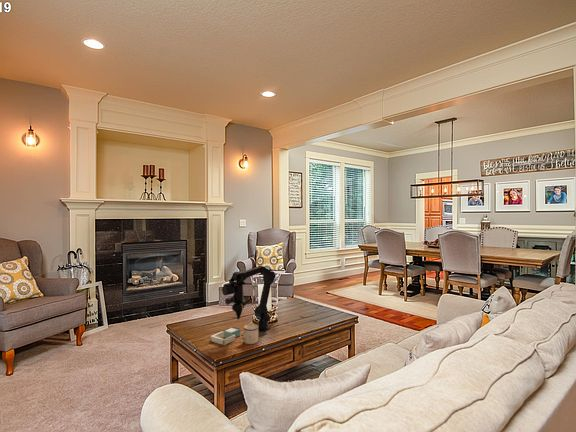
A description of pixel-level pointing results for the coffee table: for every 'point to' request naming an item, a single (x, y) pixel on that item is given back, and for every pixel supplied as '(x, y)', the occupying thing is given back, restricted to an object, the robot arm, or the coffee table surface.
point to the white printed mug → (250, 333)
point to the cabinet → (232, 332)
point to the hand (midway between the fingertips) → (239, 316)
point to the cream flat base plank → (218, 339)
